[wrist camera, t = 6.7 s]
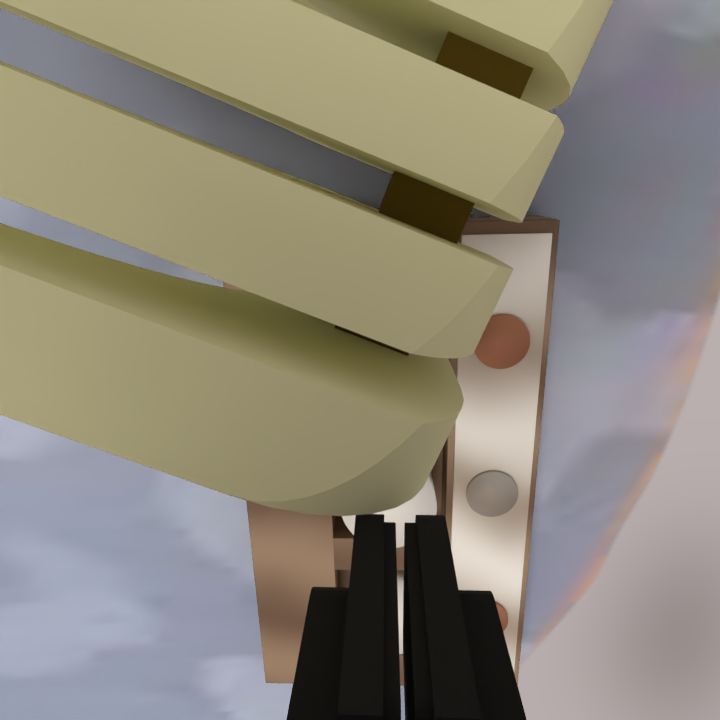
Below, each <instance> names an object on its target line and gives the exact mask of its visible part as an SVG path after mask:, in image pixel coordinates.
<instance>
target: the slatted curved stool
mask: <svg viewBox="0 0 720 720" xmlns="http://www.w3.org/2000/svg"><path fill="white" fill-rule="evenodd" d="M613 1H614V0H0V8H2V9H4V10H6V11H9V12H11V13H14V14H16V15H18V16H21V17H23V18H26V19H28V20H30V21H33V22H35V23H38V24H40V25H42V26H45V27H47V28H50V29H52V30H54V31H57V32H59V33H62V34H64V35H66V36H69V37H71V38H74V39H76V40H78V41H81V42H83V43H85V44H88V45H90V46H93V47H95V48H97V49H100V50H102V51H105V52H107V53H109V54H112V55H114V56H116V57H119V58H121V59H124V60H126V61H128V62H131V63H133V64H135V65H138V66H140V67H143V68H145V69H147V70H150V71H152V72H154V73H157V74H159V75H162V76H164V77H166V78H169V79H171V80H173V81H176V82H178V83H180V84H183V85H185V86H187V87H190V88H192V89H194V90H197V91H199V92H202V93H204V94H206V95H209V96H211V97H213V98H216V99H218V100H220V101H223V102H225V103H227V104H230V105H232V106H234V107H236V108H239V109H241V110H243V111H246V112H248V113H250V114H253V115H255V116H257V117H259V118H262V119H264V120H266V121H269V122H271V123H273V124H275V125H278V126H280V127H282V128H284V129H287V130H289V131H291V132H293V133H296V134H298V135H300V136H302V137H304V138H307V139H309V140H311V141H313V142H315V143H318V144H320V145H323V146H325V147H327V148H330V149H332V150H335V151H337V152H340V153H342V154H344V155H347V156H349V157H352V158H354V159H357V160H359V161H362V162H364V163H366V164H369V165H371V166H374V167H376V168H379V169H381V170H383V171H386V172H388V173H391V174H393V175H392V177H391V180H390V182H389V185H388V188H387V190H386V193H385V195H384V198H383V201H382V203H381V206H380V208H379V210H378V209H375V208H373V207H371V206H368V205H366V204H363V203H361V202H358V201H356V200H353V199H351V198H348V197H346V196H343V195H341V194H338V193H336V192H333V191H331V190H329V189H326V188H324V187H321V186H319V185H316V184H313V183H310V182H308V181H305V180H302V179H299V178H297V177H294V176H291V175H289V174H286V173H283V172H281V171H278V170H275V169H273V168H270V167H267V166H265V165H262V164H259V163H257V162H254V161H252V160H249V159H246V158H244V157H241V156H239V155H236V154H233V153H231V152H228V151H226V150H223V149H221V148H218V147H215V146H213V145H210V144H208V143H205V142H203V141H200V140H198V139H195V138H192V137H190V136H187V135H185V134H182V133H180V132H177V131H175V130H172V129H170V128H167V127H165V126H162V125H159V124H157V123H154V122H152V121H149V120H147V119H144V118H142V117H139V116H137V115H134V114H132V113H129V112H127V111H124V110H122V109H119V108H117V107H114V106H111V105H109V104H106V103H104V102H101V101H99V100H96V99H94V98H91V97H89V96H86V95H84V94H81V93H79V92H76V91H74V90H71V89H69V88H66V87H64V86H61V85H59V84H56V83H54V82H51V81H49V80H46V79H44V78H41V77H39V76H36V75H34V74H31V73H29V72H26V71H24V70H21V69H19V68H16V67H14V66H11V65H9V64H6V63H4V62H1V61H0V196H2V197H4V198H7V199H9V200H12V201H15V202H17V203H20V204H22V205H25V206H28V207H30V208H33V209H35V210H38V211H41V212H43V213H46V214H48V215H51V216H54V217H56V218H59V219H61V220H64V221H67V222H69V223H72V224H75V225H77V226H80V227H82V228H85V229H88V230H90V231H93V232H95V233H98V234H101V235H103V236H106V237H108V238H111V239H114V240H116V241H119V242H121V243H124V244H127V245H129V246H132V247H134V248H137V249H140V250H142V251H145V252H147V253H150V254H153V255H155V256H158V257H160V258H163V259H166V260H168V261H171V262H173V263H176V264H179V265H181V266H184V267H186V268H189V269H192V270H194V271H197V272H199V273H202V274H205V275H207V276H210V277H212V278H215V279H218V280H220V281H223V282H225V283H228V284H231V285H233V286H236V287H238V288H241V289H244V290H246V291H241V290H234V289H228V288H222V287H218V286H213V285H208V284H203V283H199V282H195V281H190V280H186V279H182V278H178V277H174V276H170V275H166V274H163V273H159V272H155V271H152V270H148V269H144V268H141V267H137V266H134V265H131V264H127V263H124V262H120V261H117V260H114V259H110V258H107V257H104V256H100V255H97V254H94V253H91V252H87V251H84V250H81V249H78V248H75V247H72V246H68V245H65V244H62V243H59V242H56V241H53V240H50V239H47V238H44V237H41V236H38V235H35V234H31V233H28V232H25V231H22V230H19V229H16V228H13V227H10V226H8V225H5V224H2V223H0V415H3V416H6V417H8V418H11V419H14V420H17V421H20V422H23V423H26V424H28V425H31V426H34V427H37V428H40V429H43V430H45V431H48V432H51V433H54V434H57V435H60V436H62V437H65V438H68V439H71V440H74V441H77V442H79V443H82V444H85V445H88V446H91V447H94V448H97V449H99V450H102V451H105V452H108V453H111V454H114V455H116V456H119V457H122V458H125V459H128V460H131V461H133V462H136V463H139V464H142V465H145V466H148V467H150V468H153V469H156V470H159V471H162V472H165V473H168V474H170V475H173V476H176V477H179V478H182V479H185V480H187V481H190V482H193V483H196V484H199V485H202V486H204V487H207V488H210V489H213V490H216V491H219V492H221V493H224V494H227V495H230V496H234V497H237V498H240V499H244V500H247V501H251V502H254V503H257V504H261V505H264V506H267V507H272V508H278V509H283V510H289V511H294V512H300V513H305V514H316V515H332V516H351V515H364V514H374V513H377V512H381V511H385V510H389V509H393V508H396V507H398V506H400V505H402V504H404V503H406V502H407V501H409V500H411V499H413V498H414V497H415V496H416V495H417V494H418V492H419V491H420V490H421V489H422V488H423V487H424V485H425V483H426V481H427V479H428V477H429V475H430V473H431V470H432V468H433V466H434V464H435V462H436V460H437V458H438V456H439V454H440V452H441V450H442V448H443V446H444V444H445V442H446V440H447V438H448V436H449V434H450V432H451V429H452V427H453V425H454V423H455V421H456V419H457V417H458V415H459V413H460V411H461V409H462V406H463V402H464V398H463V394H462V390H461V387H460V385H459V383H458V380H457V378H456V376H455V373H454V371H453V368H452V366H451V364H450V361H449V359H448V358H452V359H455V358H462V357H467V356H469V355H471V354H473V353H474V351H475V349H476V347H477V345H478V343H479V341H480V338H481V336H482V334H483V332H484V330H485V328H486V326H487V324H488V322H489V320H490V317H491V315H492V313H493V311H494V309H495V307H496V305H497V303H498V301H499V299H500V296H501V294H502V292H503V290H504V288H505V286H506V284H507V282H508V280H509V278H510V275H511V273H512V271H513V268H512V267H510V266H509V265H507V264H505V263H503V262H502V261H500V260H498V259H496V258H494V257H493V256H491V255H489V254H487V253H484V252H482V251H479V250H477V249H474V248H472V247H469V246H467V245H464V244H462V243H459V242H458V240H459V238H460V236H461V233H462V231H463V229H464V227H465V224H466V222H467V220H468V217H469V215H470V213H471V210H472V208H476V209H478V210H481V211H483V212H486V213H488V214H490V215H493V216H495V217H498V218H500V219H503V220H507V221H512V222H517V223H522V222H523V219H524V217H525V215H526V213H527V211H528V209H529V207H530V205H531V203H532V200H533V198H534V196H535V194H536V192H537V190H538V188H539V186H540V183H541V181H542V179H543V177H544V175H545V173H546V171H547V169H548V167H549V164H550V162H551V160H552V158H553V156H554V154H555V152H556V150H557V147H558V145H559V143H560V141H561V139H562V137H563V135H564V126H563V124H562V122H561V121H560V119H559V117H558V116H557V115H555V114H553V113H550V112H548V111H550V110H552V109H554V108H556V107H558V106H560V105H561V104H563V103H564V102H565V101H566V100H567V99H568V98H569V97H570V94H571V92H572V90H573V88H574V86H575V84H576V81H577V79H578V77H579V75H580V73H581V71H582V68H583V66H584V64H585V62H586V60H587V58H588V55H589V53H590V51H591V49H592V47H593V45H594V42H595V40H596V38H597V36H598V34H599V32H600V29H601V27H602V25H603V23H604V21H605V19H606V16H607V14H608V12H609V10H610V8H611V6H612V3H613Z"/></svg>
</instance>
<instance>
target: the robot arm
mask: <svg viewBox="0 0 720 720" xmlns="http://www.w3.org/2000/svg"><path fill="white" fill-rule="evenodd" d="M403 667H404V694H405V720H526V717H525V713H524V709H523V705H522V701H521V698H520V694H519V690H518V686H517V682H516V678H515V675H514V671H513V667H512V663H511V659H510V655H509V652H508V648H507V644H506V640H505V636H504V633H503V629H502V625H501V621H500V617H499V614H498V610H497V606H496V602H495V599H494V596H493V593H492V592H491V591H479V590H458V584H457V579H456V573H455V567H454V562H453V556H452V551H451V545H450V539H449V534H448V528H447V523H446V518H445V515H416V518H415V523H405V526H404V590H403ZM287 720H401V697H400V660H399V625H398V590H397V555H396V523H395V522H384V514H364V515H356V517H355V528H354V539H353V549H352V560H351V571H350V582H349V588H346V587H312V589H311V592H310V597H309V602H308V607H307V613H306V618H305V624H304V629H303V634H302V640H301V645H300V651H299V656H298V661H297V667H296V672H295V677H294V683H293V688H292V694H291V699H290V704H289V710H288V715H287Z"/></svg>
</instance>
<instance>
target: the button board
mask: <svg viewBox="0 0 720 720" xmlns="http://www.w3.org/2000/svg"><path fill="white" fill-rule="evenodd" d="M559 221H560V220H557V219H552V218H547V217H542V216H525V217H524V219H523V222H522V223H517V222H512V221H507V220H503V219H500V218H498V217H468V220H467V222H466V224H465V227H464V229H463V231H462V233H461V236H460V238H459V240H458V242H459V243H462V244H464V245H467V246H469V247H472V248H474V249H477V250H479V251H482V252H484V253H487V254H489V255H491V256H493V257H494V258H496V259H498V260H500V261H502V262H503V263H505V264H507V265H509V266H510V267H512V268H513V271H512V273H511V275H510V278H509V280H508V282H507V284H506V286H505V288H504V290H503V292H502V294H501V296H500V299H499V301H498V303H497V305H496V307H495V309H494V311H493V313H492V315H491V317H490V320H489V322H488V324H487V326H486V328H485V330H484V332H483V334H482V336H481V338H480V341H479V343H478V345H477V347H476V349H475V351H474V353H473V354H471V355H469V356H467V357H462V358H455V359H452V358H448V359H449V361H450V364H451V366H452V368H453V371H454V373H455V376H456V378H457V380H458V383H459V385H460V387H461V390H462V394H463V398H464V402H463V406H462V409H461V411H460V413H459V415H458V417H457V419H456V421H455V423H454V425H453V427H452V429H451V432H450V434H449V436H448V438H447V440H446V442H445V444H444V446H443V448H442V450H441V452H440V454H439V456H438V458H437V460H436V462H435V464H434V466H433V468H432V470H431V473H432V478H433V484H434V490H435V496H436V502H437V513H436V515H445V518H446V523H447V528H448V534H449V539H450V545H451V551H452V556H453V562H454V567H455V573H456V579H457V584H458V590H479V591H491V592H492V593H493V596H494V599H495V602H496V606H497V610H498V614H499V617H500V621H501V625H502V629H503V633H504V636H505V640H506V644H507V648H508V652H509V655H510V659H511V663H512V667H513V671H514V675H515V678H516V682H517V684H518V673H519V662H520V651H521V640H522V629H523V618H524V607H525V596H526V585H527V574H528V563H529V552H530V541H531V530H532V519H533V508H534V497H535V486H536V475H537V464H538V453H539V442H540V431H541V420H542V409H543V398H544V387H545V376H546V365H547V354H548V343H549V332H550V321H551V310H552V299H553V288H554V277H555V266H556V255H557V244H558V232H559ZM223 286H224V288H228V289H234V290H241V291H246V290H244V289H241V288H238V287H236V286H233V285H231V284H228V283H225V282H223ZM246 501H247V500H246ZM247 511H248V520H249V529H250V539H251V548H252V557H253V567H254V576H255V586H256V595H257V604H258V614H259V623H260V632H261V642H262V651H263V661H264V670H265V679H266V683H294V677H295V672H296V667H297V661H298V656H299V651H300V645H301V640H302V634H303V629H304V624H305V618H306V613H307V607H308V602H309V597H310V592H311V589H312V587H346V588H349V582H350V571H351V560H352V549H353V539H354V535H353V534H352V533H351V532H350V530H349V529H348V528H347V526H346V525H345V523H344V521H343V518H342V516H332V515H316V514H305V513H300V512H294V511H289V510H283V509H278V508H272V507H267V506H264V505H261V504H257V503H254V502H251V501H247ZM396 555H397V570H404V546H403V547H399V548H396ZM399 660H400V685H402V686H404V667H403V654H399Z"/></svg>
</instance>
